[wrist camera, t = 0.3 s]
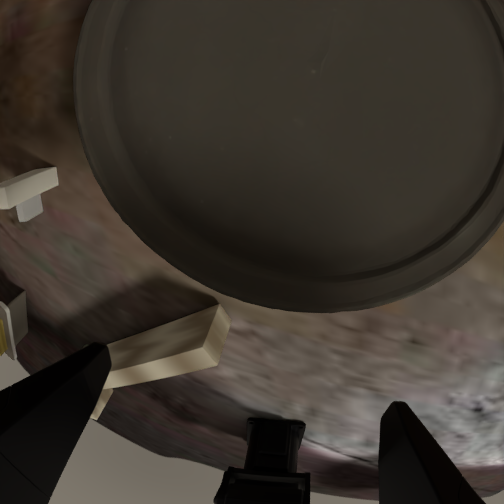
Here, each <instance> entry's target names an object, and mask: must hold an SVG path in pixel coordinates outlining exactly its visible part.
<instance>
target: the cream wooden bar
mask: <svg viewBox="0 0 504 504" xmlns="http://www.w3.org/2000/svg"><path fill="white" fill-rule="evenodd" d="M231 321H232V320H231V319H230V318H229V316H228V315H227V313H226V312H225V310H224V309H223V308H222V306H221V305H220V304H218V305H215V306H212V307H210V308H207V309H205V310H202V311H199V312H197V313H194V314H191V315H188V316H186V317H183V318H180V319H178V320H175V321H172V322H169V323H167V324H164V325H161V326H158V327H156V328H153V329H150V330H147V331H144V332H142V333H139V334H136V335H133V336H130V337H127V338H125V339H122V340H119V341H116V342H113V343H110V344H107V346H108V348H109V352H110V357H111V361H112V367H111V370H110V373H109V375H108V377H107V380H106V382H105V385H104V387H103V389H109V388H115V387H121V386H127V385H132V384H137V383H142V382H147V381H152V380H157V379H162V378H167V377H171V376H176V375H180V374H184V373H189V372H193V371H197V370H201V369H205V368H209V367H213V366H217V365H218V362H219V359H220V356H221V353H222V350H223V346H224V343H225V340H226V337H227V334H228V331H229V328H230V325H231Z"/></svg>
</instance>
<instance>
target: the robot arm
mask: <svg viewBox="0 0 504 504" xmlns="http://www.w3.org/2000/svg"><path fill="white" fill-rule="evenodd" d="M111 367H112V361H111V357H110V352H109V348H108V346H107V345H105V344H103V343H100V342H94V343H92V344H90V345H88V346H86V347H84V348H82V349H80V350H79V351H77V352H75V353H73V354H71V355H69V356H67V357H65V358H63V359H61V360H59V361H57V362H55V363H54V364H52V365H50V366H48V367H46V368H44V369H42V370H40V371H38V372H36V373H34V374H32V375H30V376H29V377H26V378H25V379H23V380H21V381H19V382H17V383H15V384H13V385H12V386H9V387H7V388H5V389H3V390H1V391H0V504H48V503H49V500H50V497H51V496H52V493H53V491H54V489H55V487H56V485H57V483H58V480H59V478H60V476H61V474H62V472H63V470H64V468H65V466H66V464H67V462H68V459H69V457H70V455H71V454H72V452H73V449H74V448H75V446H76V444H77V442H78V440H79V438H80V436H81V434H82V432H83V430H84V428H85V426H86V424H87V422H88V420H89V418H90V417H91V415H92V413H93V411H94V409H95V407H96V405H97V402H98V400H99V397H100V395H101V392H102V390H103V387H104V385H105V382H106V380H107V377H108V375H109V373H110V370H111ZM305 428H306V424H305V423H302V422H287V421H275V420H265V419H256V418H249V419H248V420H247V445H248V450H247V455H246V460H245V465H244V469H240V468H234V467H231V466H229V468H228V471H225V472H224V475H223V479H222V483H221V485H220V488H219V490H218V492H217V494H216V496H215V498H214V504H310V472H305V473H296V471H297V459H298V450H299V448H300V445H301V442H302V438H303V435H304V431H305ZM378 469H379V504H486V503H485V502H484V501H483V500H482V499H481V498H480V496H479V495H478V494H477V493H476V492H475V491H474V489H473V488H472V487H471V486H470V484H469V483H468V482H467V480H466V479H465V478H464V477H463V476H462V474H461V473H460V471H459V470H458V469H457V467H456V466H455V465H454V463H453V462H452V461H451V460H450V458H449V457H448V456H447V454H446V453H445V452H444V450H443V449H442V448H441V447H440V445H439V444H438V443H437V441H436V440H435V439H434V438H433V436H432V435H431V434H430V432H429V431H428V430H427V429H426V427H425V426H424V425H423V424H422V422H421V421H420V420H419V419H418V417H417V416H416V415H415V413H414V412H413V411H412V410H411V408H410V407H409V406H408V405H407V404H406V403H405V402H402V401H394V402H392V403H391V404H390V406H389V407H388V409H387V410H386V411H385V413H384V414H383V416H382V418H381V422H380V443H379V460H378Z"/></svg>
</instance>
